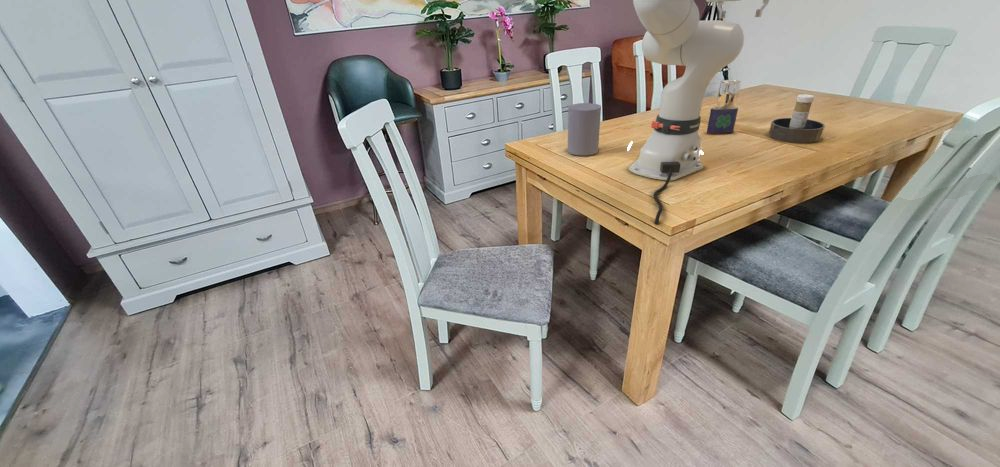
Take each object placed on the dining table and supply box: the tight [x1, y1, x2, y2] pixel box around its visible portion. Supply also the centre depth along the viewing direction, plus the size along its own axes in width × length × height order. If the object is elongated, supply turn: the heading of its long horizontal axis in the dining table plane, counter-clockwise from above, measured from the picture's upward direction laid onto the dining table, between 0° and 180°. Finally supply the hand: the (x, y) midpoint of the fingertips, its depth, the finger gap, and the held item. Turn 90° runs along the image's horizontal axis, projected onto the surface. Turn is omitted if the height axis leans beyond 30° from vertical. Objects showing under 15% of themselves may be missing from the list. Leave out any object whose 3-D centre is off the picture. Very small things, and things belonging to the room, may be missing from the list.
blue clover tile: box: [706, 103, 739, 135], centre depth 147 cm, size 9×3×11 cm, turn 88°
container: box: [566, 102, 602, 157], centre depth 137 cm, size 10×10×15 cm
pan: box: [768, 117, 826, 144], centre depth 141 cm, size 15×15×4 cm
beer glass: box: [716, 79, 742, 108], centre depth 159 cm, size 7×7×15 cm
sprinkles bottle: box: [789, 93, 815, 129], centre depth 138 cm, size 5×5×13 cm
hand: (739, 17), depth 122 cm, fingers open, 8 cm apart
